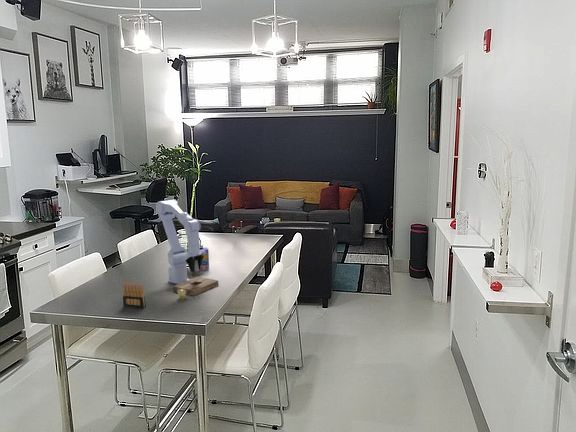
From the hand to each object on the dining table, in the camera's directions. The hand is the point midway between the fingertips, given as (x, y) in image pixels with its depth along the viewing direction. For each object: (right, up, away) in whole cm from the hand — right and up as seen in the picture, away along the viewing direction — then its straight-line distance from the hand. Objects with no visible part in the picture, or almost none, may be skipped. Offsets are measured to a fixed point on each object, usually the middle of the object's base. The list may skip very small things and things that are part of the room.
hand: (195, 270), depth 234 cm
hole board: (0, -9, +2) cm, 9 cm away
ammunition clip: (-23, -14, -22) cm, 35 cm away
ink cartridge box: (-4, -4, +34) cm, 35 cm away
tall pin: (0, -3, +1) cm, 3 cm away
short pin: (-3, -12, -13) cm, 18 cm away
